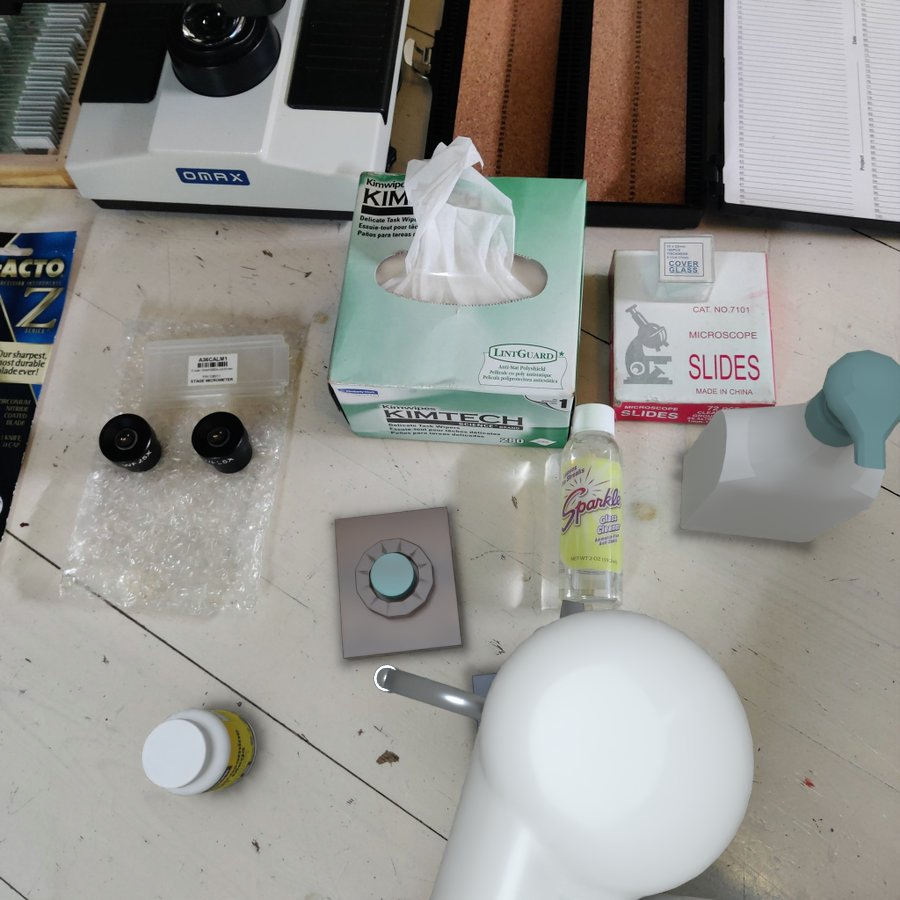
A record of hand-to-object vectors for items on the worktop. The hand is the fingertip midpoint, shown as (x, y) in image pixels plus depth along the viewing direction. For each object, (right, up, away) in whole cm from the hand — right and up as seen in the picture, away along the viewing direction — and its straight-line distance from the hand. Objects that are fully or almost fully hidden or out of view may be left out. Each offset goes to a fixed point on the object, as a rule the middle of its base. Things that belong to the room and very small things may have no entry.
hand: (549, 729), depth 50 cm
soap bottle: (+20, +12, +22) cm, 32 cm away
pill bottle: (-25, -8, +19) cm, 32 cm away
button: (-11, +6, +18) cm, 22 cm away
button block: (-11, +5, +22) cm, 25 cm away
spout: (-4, +1, +1) cm, 5 cm away
